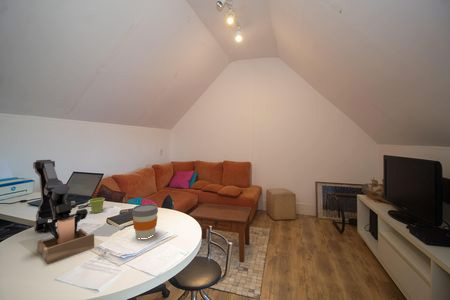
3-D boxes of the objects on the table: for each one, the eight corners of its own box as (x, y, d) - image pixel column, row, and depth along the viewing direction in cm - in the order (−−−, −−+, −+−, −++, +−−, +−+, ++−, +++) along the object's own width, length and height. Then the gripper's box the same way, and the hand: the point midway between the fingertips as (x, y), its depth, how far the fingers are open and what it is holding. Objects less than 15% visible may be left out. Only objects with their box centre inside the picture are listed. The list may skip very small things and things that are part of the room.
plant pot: (97, 214, 133) (96, 202, 132) (85, 213, 134) (85, 201, 134) (108, 210, 142) (107, 198, 141) (96, 209, 144) (96, 197, 143)
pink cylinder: (53, 250, 86) (53, 221, 86) (66, 244, 92) (66, 216, 92) (66, 252, 85) (66, 222, 85) (77, 245, 91) (77, 217, 91)
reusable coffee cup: (163, 233, 106) (163, 205, 106) (144, 243, 95) (144, 213, 94) (146, 228, 112) (145, 202, 111) (126, 238, 100) (126, 209, 100)
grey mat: (85, 236, 101) (85, 235, 101) (104, 226, 114) (104, 224, 114) (109, 238, 100) (109, 236, 100) (125, 227, 113) (125, 225, 113)
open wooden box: (37, 251, 88) (37, 235, 87) (80, 237, 100) (79, 224, 100) (48, 266, 77) (47, 249, 77) (94, 249, 90) (94, 234, 89)
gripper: (34, 201, 83) (41, 234, 77) (86, 192, 98) (95, 219, 92) (31, 215, 88) (37, 247, 81) (80, 205, 103) (89, 231, 96)
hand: (67, 235), depth 88 cm, fingers closed on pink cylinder, 6 cm apart
